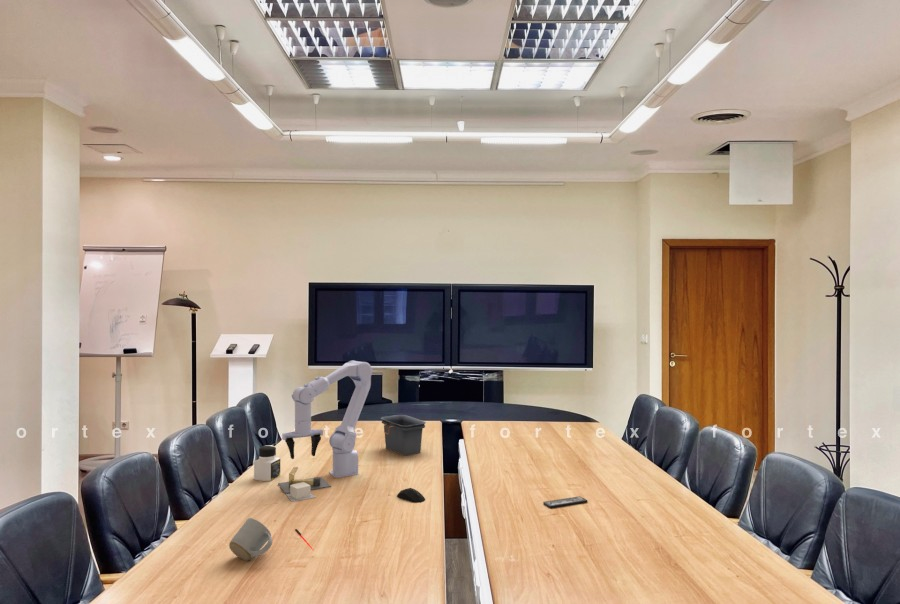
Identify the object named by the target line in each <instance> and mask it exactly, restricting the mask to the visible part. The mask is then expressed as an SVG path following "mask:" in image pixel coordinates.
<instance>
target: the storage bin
mask: <svg viewBox="0 0 900 604" xmlns="http://www.w3.org/2000/svg"><path fill="white" fill-rule="evenodd" d="M380 420H381V424H383V433H384V441H385V442H384V443H385V449H387V450H390V451H392V452H395V454H396V453H397V454H399V455H401V456H404V457H405V456H406V457H407V456H410V455H416V454H417V455H418V454H420V453H421V451H422V439H423V429H424V428H426V423H427V422H426V421H424V420H423V419H422V420H421V419H418V418H416V417H413V416H409V415H406V414H396V415H395V414H394V415H389V416H382V417H380Z"/></svg>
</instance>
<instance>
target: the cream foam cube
mask: <svg viewBox="0 0 900 604" xmlns="http://www.w3.org/2000/svg"><path fill="white" fill-rule="evenodd" d="M311 491H312V490H311V486H310V485H308V484H307V483H305V482H302V483H297V484H293V485H290V495H291V496H292V497H294V498H296V499H300V498H304V497H308V496H311V493H312V492H311Z"/></svg>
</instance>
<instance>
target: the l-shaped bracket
mask: <svg viewBox="0 0 900 604" xmlns="http://www.w3.org/2000/svg"><path fill="white" fill-rule="evenodd" d="M298 469H299V467H298V466H293V467H292V469H291V471H290V472H289V474H288V482H289V486H290V485H293V484H297V483H302V482H305V483H307V484H308V485H313V486H320V477H321V476H315V477H313V478H314V479H310V478H306V479H304V478H303V479H302V478H301V479H300V478H299V479H295V475H296V473H297V471H298Z"/></svg>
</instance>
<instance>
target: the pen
mask: <svg viewBox="0 0 900 604" xmlns="http://www.w3.org/2000/svg"><path fill="white" fill-rule="evenodd" d="M294 531H295V532H296V533H297V534H298V536H299V537H300V538H301V539H302V540H303V541H304V543H306V545H307V546H309V548H310V549H311V550H312V551H314V549H313V547H312V546H311V545H310V544H309V542H308V541H307V540H306V539H305V538H304V536H303V535H302V533H301V532H300V531H299V530H298V529H297V528H294Z"/></svg>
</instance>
